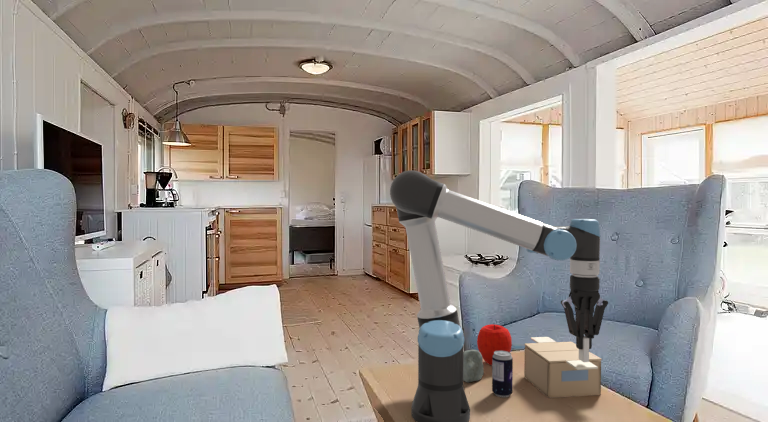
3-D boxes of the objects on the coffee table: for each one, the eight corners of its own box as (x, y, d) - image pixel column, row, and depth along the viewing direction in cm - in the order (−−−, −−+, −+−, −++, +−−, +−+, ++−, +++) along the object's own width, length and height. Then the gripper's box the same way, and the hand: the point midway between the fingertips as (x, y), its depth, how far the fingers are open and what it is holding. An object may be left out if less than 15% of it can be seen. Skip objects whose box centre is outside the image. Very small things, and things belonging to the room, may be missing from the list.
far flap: (536, 353, 145) (536, 351, 145) (516, 339, 159) (516, 337, 159) (585, 351, 147) (585, 349, 147) (561, 337, 161) (561, 336, 161)
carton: (548, 398, 137) (548, 363, 137) (524, 377, 153) (524, 346, 153) (600, 395, 139) (601, 361, 139) (571, 374, 155) (572, 344, 155)
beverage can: (512, 399, 136) (513, 356, 136) (492, 397, 137) (492, 355, 137) (511, 391, 142) (512, 350, 141) (491, 389, 143) (492, 349, 142)
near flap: (560, 370, 130) (560, 368, 130) (536, 353, 145) (536, 351, 145) (614, 367, 132) (614, 366, 132) (585, 351, 147) (585, 349, 147)
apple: (518, 368, 161) (519, 328, 160) (486, 371, 158) (486, 330, 158) (502, 357, 172) (502, 319, 172) (471, 359, 170) (471, 321, 169)
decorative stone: (490, 385, 146) (492, 353, 152) (458, 374, 144) (462, 342, 150) (469, 392, 157) (471, 362, 162) (439, 382, 154) (443, 352, 160)
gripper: (569, 277, 128) (568, 366, 129) (614, 276, 130) (613, 364, 130) (555, 273, 136) (554, 357, 136) (598, 272, 137) (598, 355, 138)
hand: (583, 360), depth 133 cm, fingers closed
